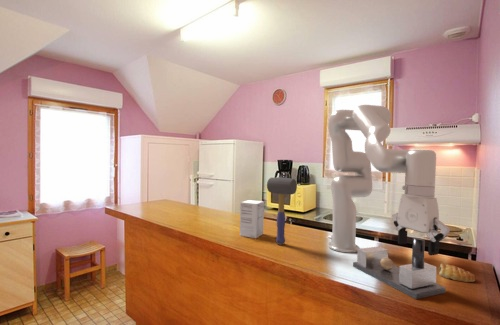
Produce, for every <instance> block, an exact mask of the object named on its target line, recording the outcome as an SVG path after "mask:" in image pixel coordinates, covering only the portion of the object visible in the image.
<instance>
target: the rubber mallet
mask: <svg viewBox="0 0 500 325" xmlns="http://www.w3.org/2000/svg"><path fill="white" fill-rule="evenodd" d="M297 189H298V183H297V180H296V179H295V178H289V177H282V176H281V177H278V176H277V177H270V178H268V180H267V182H266V190H267V191H268V192H269V193H273V194H278V207H277V208H278V210H277V215H276V216H277V217H276V227H277V228H276V230H277V231H276V239H275V241H276V243H277V245H280V246H281V245H284V244H285V243H286V242H285V241H286V238H285V228H286V227H285V226H286V213H285V195H295V194H296V192H297V191H298V190H297Z"/></svg>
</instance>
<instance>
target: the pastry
mask: <svg viewBox="0 0 500 325" xmlns="http://www.w3.org/2000/svg"><path fill="white" fill-rule="evenodd" d="M439 276H440V277H443V278H444V279H452V280H453V281H459V282H464V283H465V282H466V283H470V282H471V283H473V282H475V281H476V278H475V277H476V276H475V274H474V273H472V272H470V271H468V270H466V269H464V268H462V267H458V266H456V265H451V264H444V263H440V266H439Z"/></svg>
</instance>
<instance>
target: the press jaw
mask: <svg viewBox="0 0 500 325" xmlns="http://www.w3.org/2000/svg"><path fill="white" fill-rule="evenodd" d="M425 244H426V242H425V239H424V238H421V237H412V247H411V248H412V249H411V250H412V253H411V255H412V256H411V257H412V258H411V263H408V264H402V265H399V268H400V269H399V283H401V284H403V285H405V286H407V287H409V288H411V289H413V288H418V287H423V286H428V285H433V284H437V266H436V265H433V264H430V263H427V262H425Z"/></svg>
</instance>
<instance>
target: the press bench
mask: <svg viewBox="0 0 500 325" xmlns="http://www.w3.org/2000/svg"><path fill="white" fill-rule="evenodd" d="M356 253H357V258H356V261H352V267H353V268H355V269H357V270H359V271H361V272H362V273H365V274H366V275H369V276H371V278H374V279H375V280H378V281H380V282H382V283H384V284H386V285H388V286H389V287H392V288H394V289H395V290H397V291H399V292H401V293H402V294H405V295H407V296H409V297H410V298H412V299H414V300H418V299H423V298H427V297H431V296H435V295H436V296H437V295H441V294H446V292H447V291H446V287H445V286H444V285H441V284H439V283H436V284H433V285H428V286H423V287H418V288H413V289H411V288H409V287H407V286H405V285H403V284H401V283H399V269H400V266H396V265H394V266H393V268H392V269H391V270H384V269H383V268H382V267H381V265H380V261H381V259H383V258H389V249H387V248H384V247H383V246H382V247H381V246H371V247H362V248H359V249H358V251H357V252H356Z"/></svg>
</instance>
